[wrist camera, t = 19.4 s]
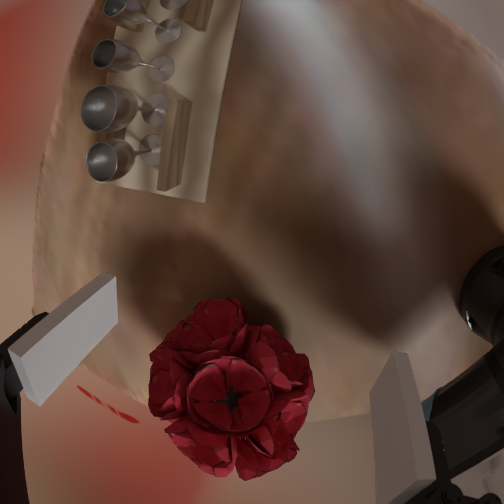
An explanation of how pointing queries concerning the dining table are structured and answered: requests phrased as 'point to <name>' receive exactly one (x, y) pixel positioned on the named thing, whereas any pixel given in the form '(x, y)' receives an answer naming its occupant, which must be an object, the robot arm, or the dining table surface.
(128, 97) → the goblet set
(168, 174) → the glass rack
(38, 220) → the dining table surface
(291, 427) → the bouquet
